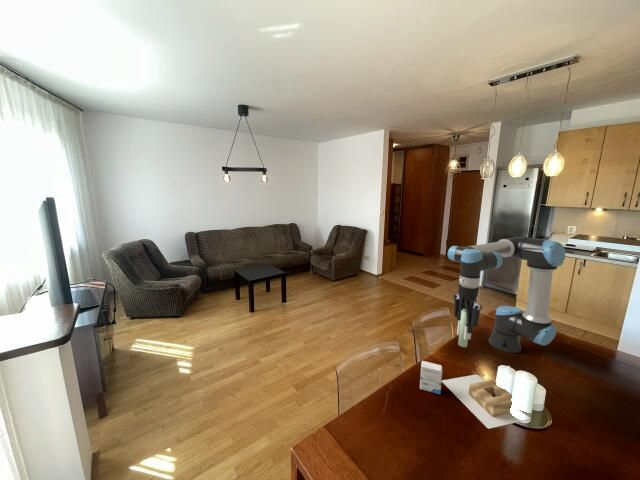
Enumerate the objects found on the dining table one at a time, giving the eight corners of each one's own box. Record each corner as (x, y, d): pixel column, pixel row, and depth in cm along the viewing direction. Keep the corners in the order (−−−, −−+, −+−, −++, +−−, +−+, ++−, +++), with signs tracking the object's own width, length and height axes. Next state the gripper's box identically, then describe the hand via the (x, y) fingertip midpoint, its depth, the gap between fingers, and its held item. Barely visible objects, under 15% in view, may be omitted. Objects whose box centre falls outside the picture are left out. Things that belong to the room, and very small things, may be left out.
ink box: (440, 388, 117) (442, 364, 115) (440, 396, 113) (442, 371, 111) (420, 382, 121) (421, 359, 119) (419, 389, 116) (421, 366, 114)
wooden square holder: (468, 394, 113) (469, 384, 112) (491, 389, 116) (492, 379, 115) (492, 416, 101) (493, 405, 101) (517, 411, 104) (518, 400, 103)
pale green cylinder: (456, 343, 117) (459, 307, 114) (463, 342, 117) (466, 307, 115) (462, 347, 113) (465, 311, 110) (469, 346, 114) (472, 310, 111)
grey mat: (440, 381, 121) (441, 380, 121) (477, 375, 126) (477, 374, 126) (488, 430, 96) (488, 428, 96) (531, 420, 101) (531, 418, 101)
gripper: (447, 280, 118) (443, 328, 122) (476, 293, 102) (470, 348, 106) (461, 278, 119) (457, 326, 123) (492, 291, 104) (486, 345, 108)
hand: (463, 336), depth 115 cm, fingers closed on pale green cylinder, 3 cm apart
